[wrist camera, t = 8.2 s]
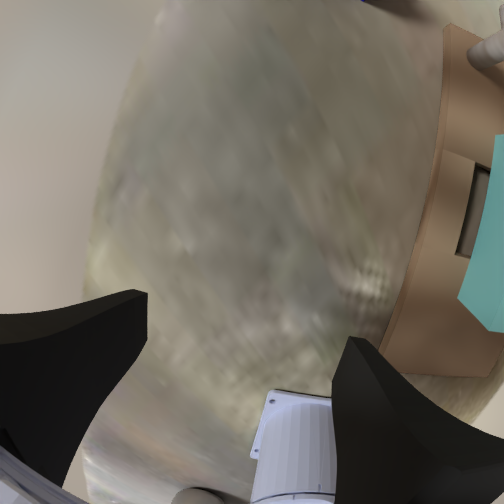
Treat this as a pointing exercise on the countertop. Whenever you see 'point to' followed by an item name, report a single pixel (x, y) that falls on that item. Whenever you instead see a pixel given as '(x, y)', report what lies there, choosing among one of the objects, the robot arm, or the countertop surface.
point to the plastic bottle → (196, 497)
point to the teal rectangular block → (488, 253)
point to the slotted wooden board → (451, 219)
